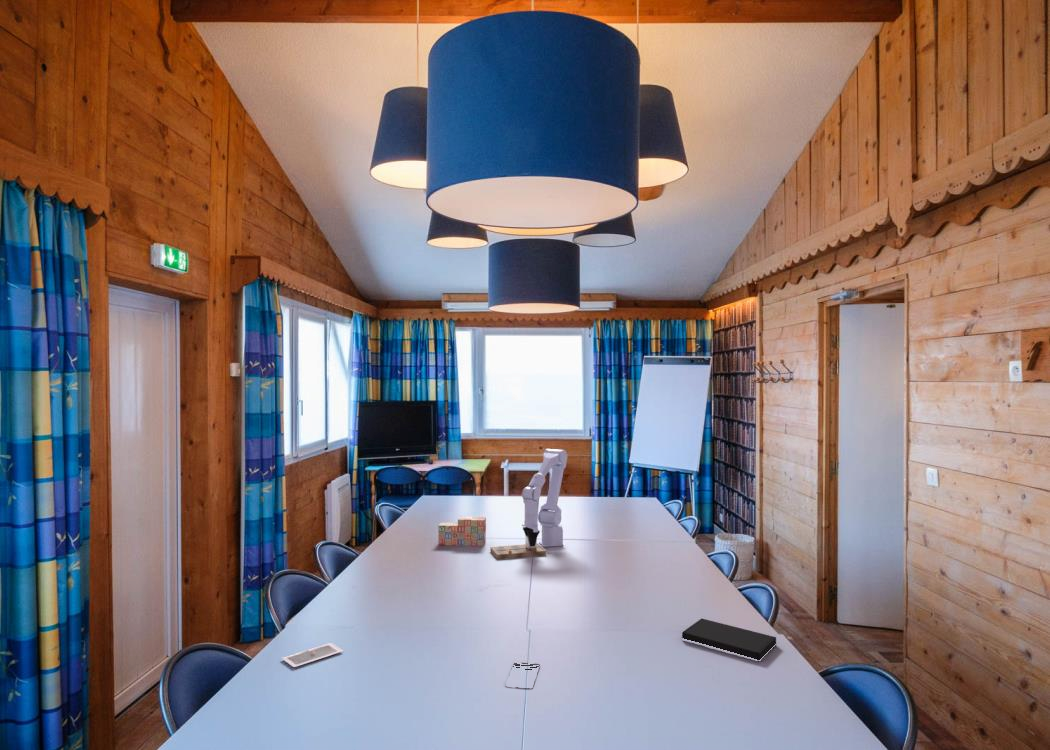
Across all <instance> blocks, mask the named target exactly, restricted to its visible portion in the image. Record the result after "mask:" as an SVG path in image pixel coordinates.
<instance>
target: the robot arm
mask: <svg viewBox="0 0 1050 750" xmlns="http://www.w3.org/2000/svg"><path fill="white" fill-rule="evenodd" d="M568 457H569V456H568V454H567V452H566V450H565V449H556V448H555V449H554V448H552V449H551V448H546V449H545V450H544V452H543V455H542V459H543V461H542V462H541V465H540V467H539V470H538V472H537V473H534V474H533V476H532V477H531V480H530V481H529V484H528V486H526V487H524V488H523V489H522V493H521V498H522V501H523V503H524V520H523V521H524V522H523V523H522V524H521V526H522V530H523V532H524V536H525V535H528V537H529V543H530V546H535V544H536V540H537V539H538V536H539V534H540V533H541V541H538V544H539V545H540V546H541V547H542V548H548V547H560V546H562V547H563V546H564V544H563V543H564V529H563V526H562V525H561V522H562V509H561V508H560V507H559V505H558V502H559V497H560V493H561V487H562V482H563V481H562V480H563V476H564V475H563V474H564V471H565V469H566V468H567V462H568ZM550 470H552V471H551V477H550V480H549V481H550V482H549V486H548V493H547V497H546V500H545V501H546V502H545V503H544V504H542V505H540V509H539V508H538V503H539V502H538V500H539V499H541V498H540V497H541V493H542V488H543V486H544V484H545V483H546V476H547V474H548V473H549V471H550ZM538 509H539V512H538ZM539 524H540V526H541V531H540V529H539V527H538V526H539Z"/></svg>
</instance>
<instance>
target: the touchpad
mask: <svg viewBox="0 0 1050 750" xmlns="http://www.w3.org/2000/svg"><path fill="white" fill-rule="evenodd" d="M342 652H344V650H343V649H342V648H340V647H339V646H337V645H335V644H334V643H332V642H328V643H325V644H322V645H319V646H315V647H313V648H309V649H305V650H303V651H299V652H297V653H293V654H291V655H288V656H283V657H281V659H282V660H283V661H284V662H286V663H287V664H289V665H290V666H291V667H293V668H296V667H300V666H302V665H305V664H308V663H312V662H314V661H317V660H321V659H324V658H327V657H329V656H333V655H336V654H339V653H342Z"/></svg>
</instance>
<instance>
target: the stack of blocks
mask: <svg viewBox="0 0 1050 750" xmlns="http://www.w3.org/2000/svg"><path fill="white" fill-rule="evenodd" d="M486 521H487V517H486V516H485V517H483V516H482V517H481V516H459V517H458V519H457V522H440V523H439V524H438V529H437V530H438V531H437V533H438V537H437V538H438V540H437V541H438V543H437V544H438V546H453V545H471V546H470V547H484V546H485V545H486V543H487V542H486V538H487V537H486V536H487V535H486V534H487V532H486V531H487V530H486V529H487V522H486Z"/></svg>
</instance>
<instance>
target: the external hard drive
mask: <svg viewBox="0 0 1050 750" xmlns="http://www.w3.org/2000/svg"><path fill="white" fill-rule="evenodd" d="M681 633H682V634H681V639H682V638H684V639H687V640H691V641H695V642H699V643H702V644H706V645H709V646H713V647H716V648H720V649H723V650H727V651H730V652H734V653H737V654H740V655H744V656H747V657H751V658H754V659H757V660H760V659H761V658H762V657H763V656H764V655H765V654H766V653H767V652H768V651H769V650H770V649H771V648H772V647H773V646H774V645H775V644H776V645H777V637H776V636H772V635H769V634H765V633H762V632H757V631H753V630H749V629H746V628H741V627H738V626H733V625H729V624H725V623H722V622H718V621H713V620H710V619H705V618H700V619H698V620H697V621H696V622H694V623H693V624H691V625H690V626H689V627H687V628H686V629H685V630H683V631H682V632H681Z"/></svg>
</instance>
